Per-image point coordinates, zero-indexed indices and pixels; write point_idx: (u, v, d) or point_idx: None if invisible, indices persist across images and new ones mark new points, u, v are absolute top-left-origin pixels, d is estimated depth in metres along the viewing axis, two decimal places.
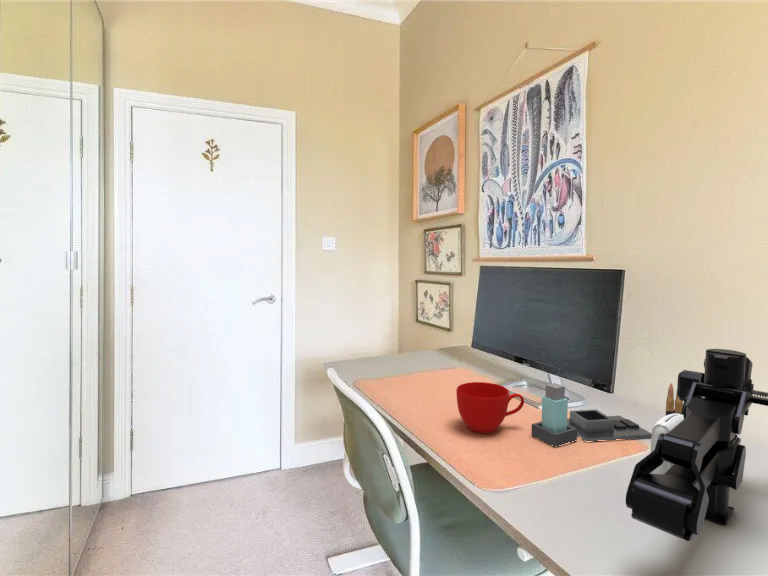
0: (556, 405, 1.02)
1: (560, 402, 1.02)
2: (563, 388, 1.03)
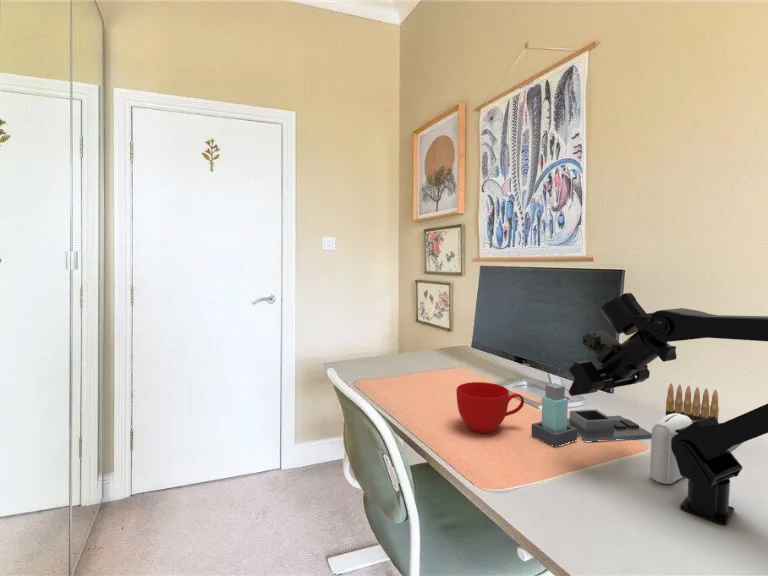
0: (556, 405, 1.02)
1: (560, 402, 1.02)
2: (563, 388, 1.03)
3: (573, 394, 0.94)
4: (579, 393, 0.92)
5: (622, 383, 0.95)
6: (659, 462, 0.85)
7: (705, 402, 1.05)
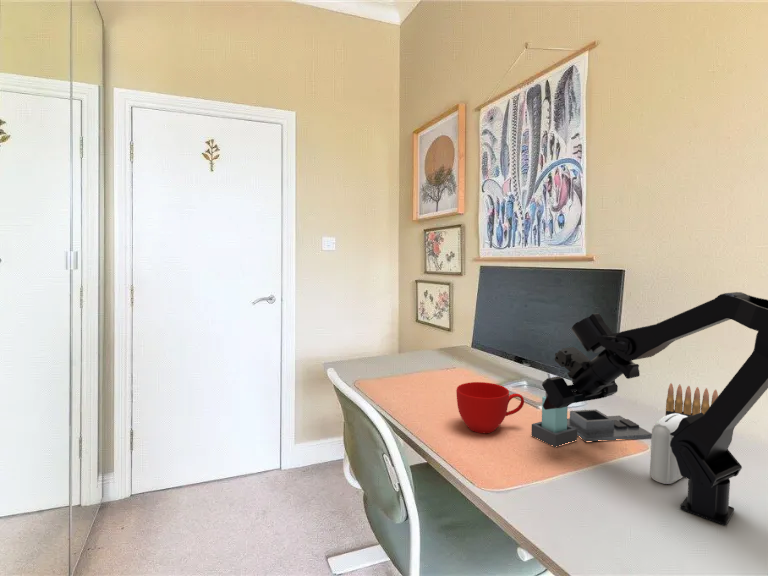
0: None
1: None
2: None
3: (547, 408, 1.00)
4: (552, 407, 0.98)
5: (593, 397, 1.01)
6: (659, 462, 0.85)
7: (705, 402, 1.05)
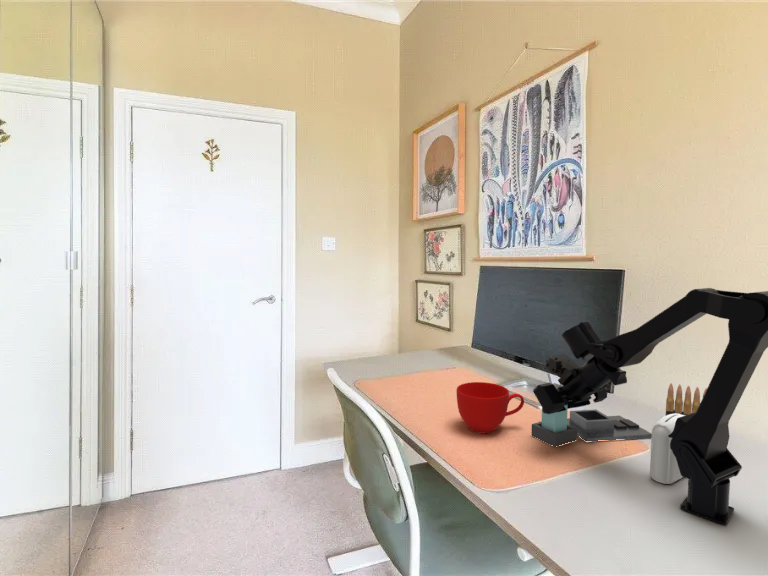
0: None
1: None
2: None
3: None
4: None
5: (576, 405, 1.02)
6: (659, 462, 0.85)
7: None
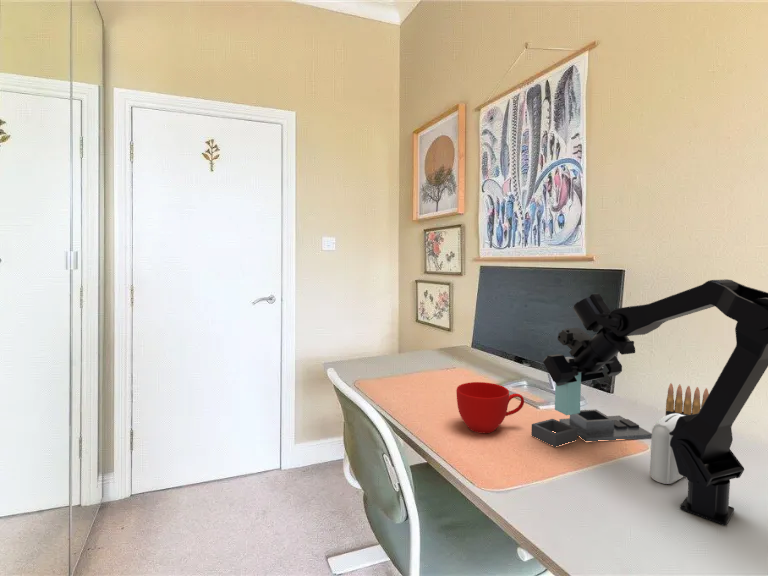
0: None
1: None
2: None
3: (559, 384, 1.05)
4: (563, 383, 1.03)
5: (589, 378, 1.03)
6: (659, 462, 0.85)
7: None
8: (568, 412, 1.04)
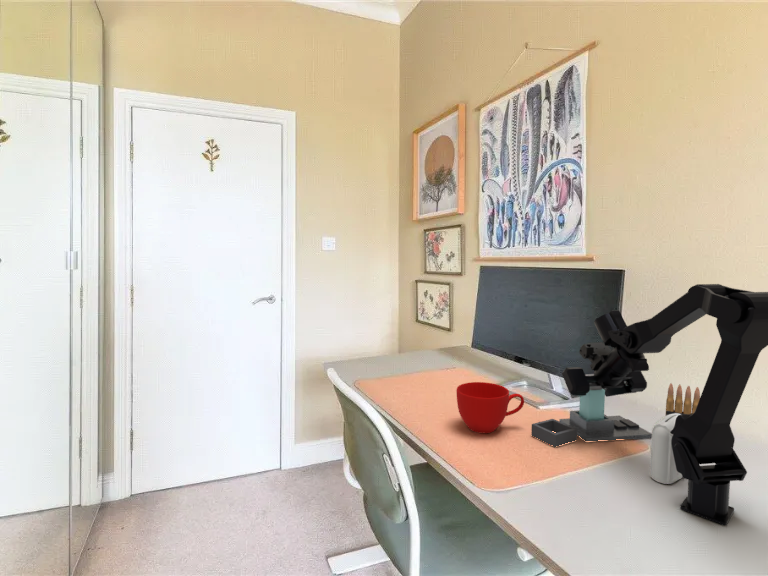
0: (590, 394, 1.06)
1: (596, 392, 1.07)
2: None
3: (572, 397, 1.08)
4: (574, 396, 1.06)
5: (621, 391, 1.05)
6: (659, 462, 0.85)
7: None
8: None
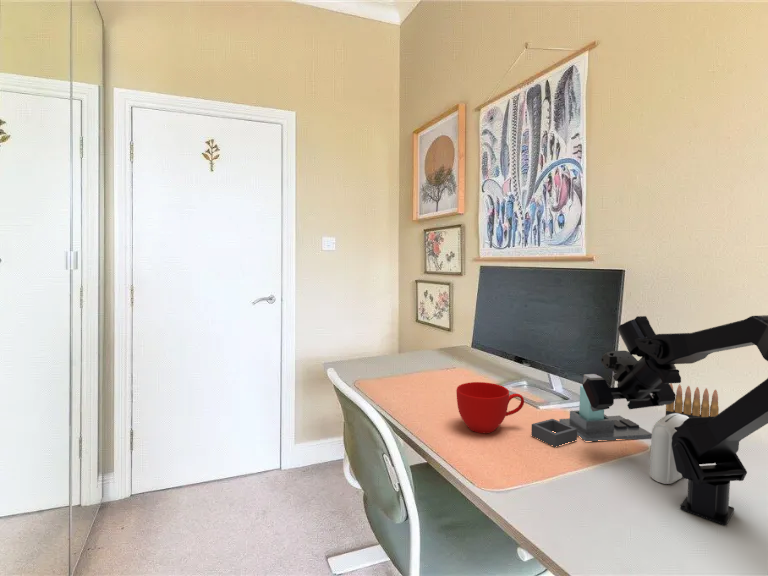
0: None
1: None
2: None
3: (593, 409, 1.00)
4: (596, 409, 0.98)
5: (647, 404, 0.97)
6: (659, 462, 0.85)
7: (705, 402, 1.05)
8: None
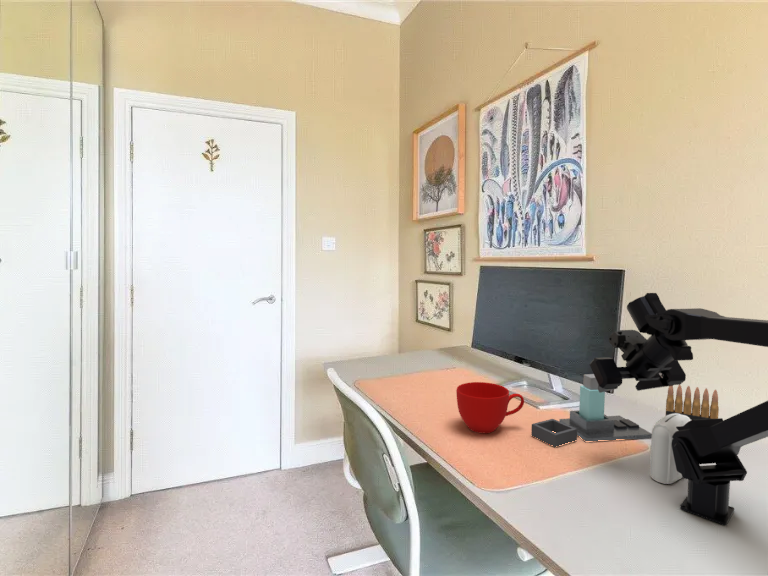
0: (590, 394, 1.06)
1: (595, 392, 1.07)
2: None
3: (600, 390, 0.97)
4: (603, 389, 0.95)
5: (656, 384, 0.94)
6: (659, 462, 0.85)
7: (705, 402, 1.05)
8: None
